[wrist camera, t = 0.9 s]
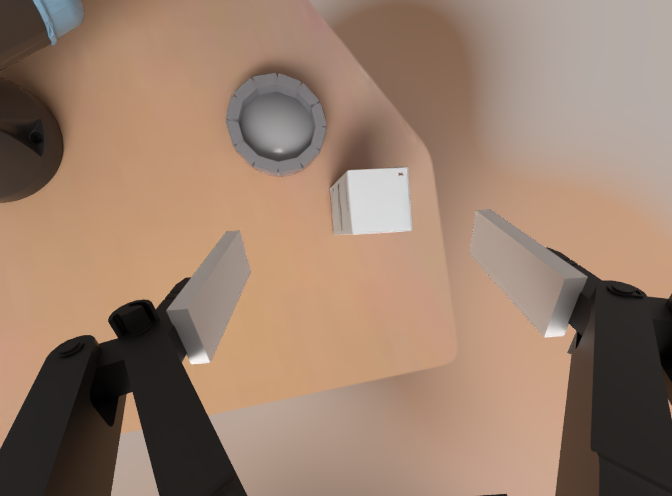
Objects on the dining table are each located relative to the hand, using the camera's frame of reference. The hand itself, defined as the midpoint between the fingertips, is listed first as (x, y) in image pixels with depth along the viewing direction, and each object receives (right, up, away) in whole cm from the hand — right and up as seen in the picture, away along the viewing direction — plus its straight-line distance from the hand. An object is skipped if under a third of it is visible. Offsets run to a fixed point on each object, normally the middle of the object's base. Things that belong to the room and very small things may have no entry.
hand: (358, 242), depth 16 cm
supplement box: (+1, +5, +28) cm, 28 cm away
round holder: (-10, +17, +25) cm, 32 cm away
